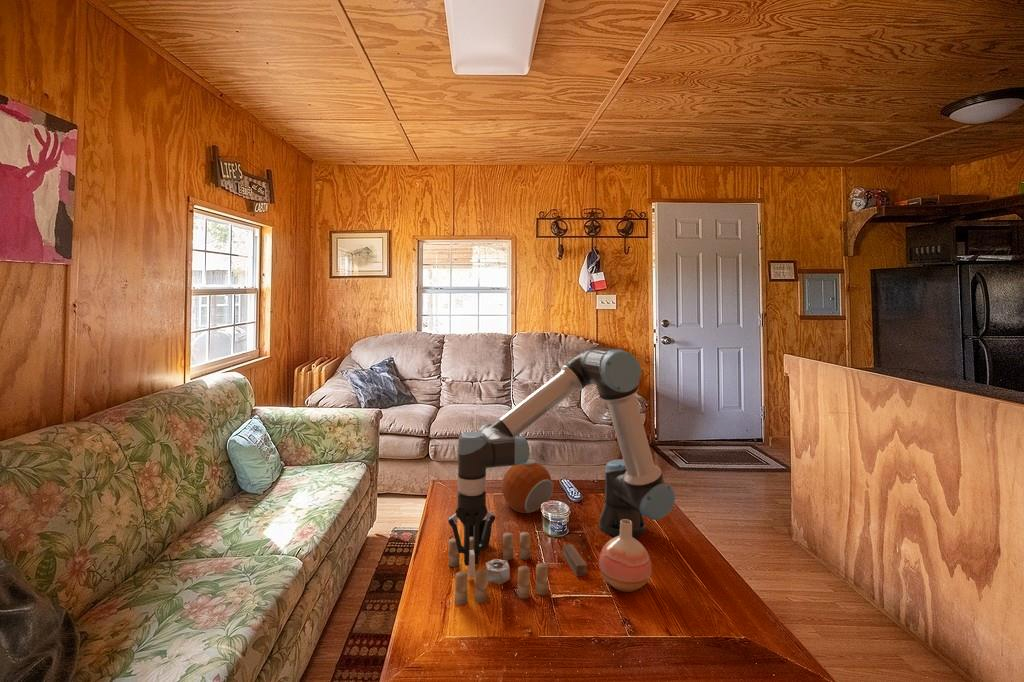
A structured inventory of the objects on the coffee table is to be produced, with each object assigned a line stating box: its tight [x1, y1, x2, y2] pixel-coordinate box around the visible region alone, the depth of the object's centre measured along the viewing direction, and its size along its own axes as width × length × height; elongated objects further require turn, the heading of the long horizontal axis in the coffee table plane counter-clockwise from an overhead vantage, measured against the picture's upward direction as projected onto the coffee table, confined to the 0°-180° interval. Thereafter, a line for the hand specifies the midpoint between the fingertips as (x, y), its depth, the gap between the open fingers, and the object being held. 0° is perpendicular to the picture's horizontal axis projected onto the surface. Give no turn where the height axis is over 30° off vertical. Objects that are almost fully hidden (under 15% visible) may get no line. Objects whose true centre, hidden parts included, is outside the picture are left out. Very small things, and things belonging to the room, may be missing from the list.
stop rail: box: [561, 543, 588, 577], centre depth 138 cm, size 3×12×3 cm, turn 13°
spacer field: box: [448, 531, 549, 606], centre depth 131 cm, size 24×22×7 cm
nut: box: [485, 558, 511, 585], centre depth 131 cm, size 6×7×4 cm
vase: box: [598, 519, 652, 593], centre depth 128 cm, size 14×14×18 cm
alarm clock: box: [501, 458, 554, 514], centre depth 179 cm, size 19×18×17 cm
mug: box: [462, 509, 493, 548], centre depth 150 cm, size 12×9×10 cm
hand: (471, 575), depth 130 cm, fingers closed
